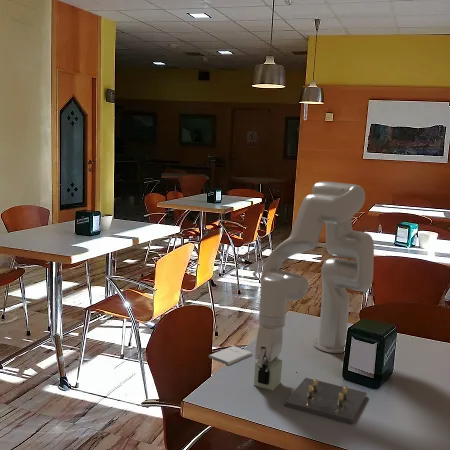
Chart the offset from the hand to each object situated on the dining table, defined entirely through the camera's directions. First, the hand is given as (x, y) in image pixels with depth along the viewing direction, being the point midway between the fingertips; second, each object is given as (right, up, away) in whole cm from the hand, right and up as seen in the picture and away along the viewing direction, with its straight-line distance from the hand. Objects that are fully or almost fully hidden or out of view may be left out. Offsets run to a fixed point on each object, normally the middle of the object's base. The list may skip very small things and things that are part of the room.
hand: (267, 378), depth 156 cm
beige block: (0, -2, 0) cm, 2 cm away
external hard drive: (-11, +1, +20) cm, 22 cm away
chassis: (+16, -4, -8) cm, 18 cm away
